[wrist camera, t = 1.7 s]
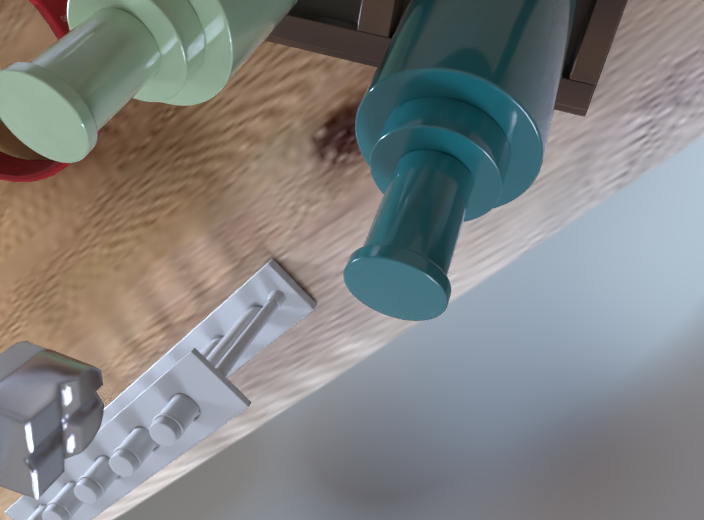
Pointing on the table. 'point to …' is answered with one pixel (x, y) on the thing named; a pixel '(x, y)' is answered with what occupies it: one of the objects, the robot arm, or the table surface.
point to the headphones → (9, 168)
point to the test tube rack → (173, 400)
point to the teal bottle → (452, 136)
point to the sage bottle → (129, 65)
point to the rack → (385, 15)
